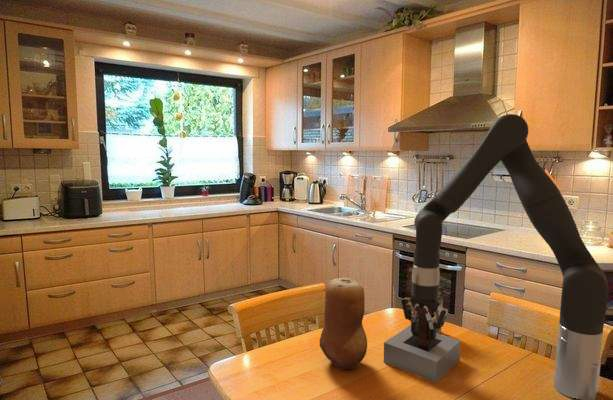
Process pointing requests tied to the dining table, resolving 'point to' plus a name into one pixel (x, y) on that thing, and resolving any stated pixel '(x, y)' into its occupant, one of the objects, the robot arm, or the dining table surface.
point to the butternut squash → (344, 323)
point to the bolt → (422, 329)
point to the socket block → (422, 355)
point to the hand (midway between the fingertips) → (423, 337)
